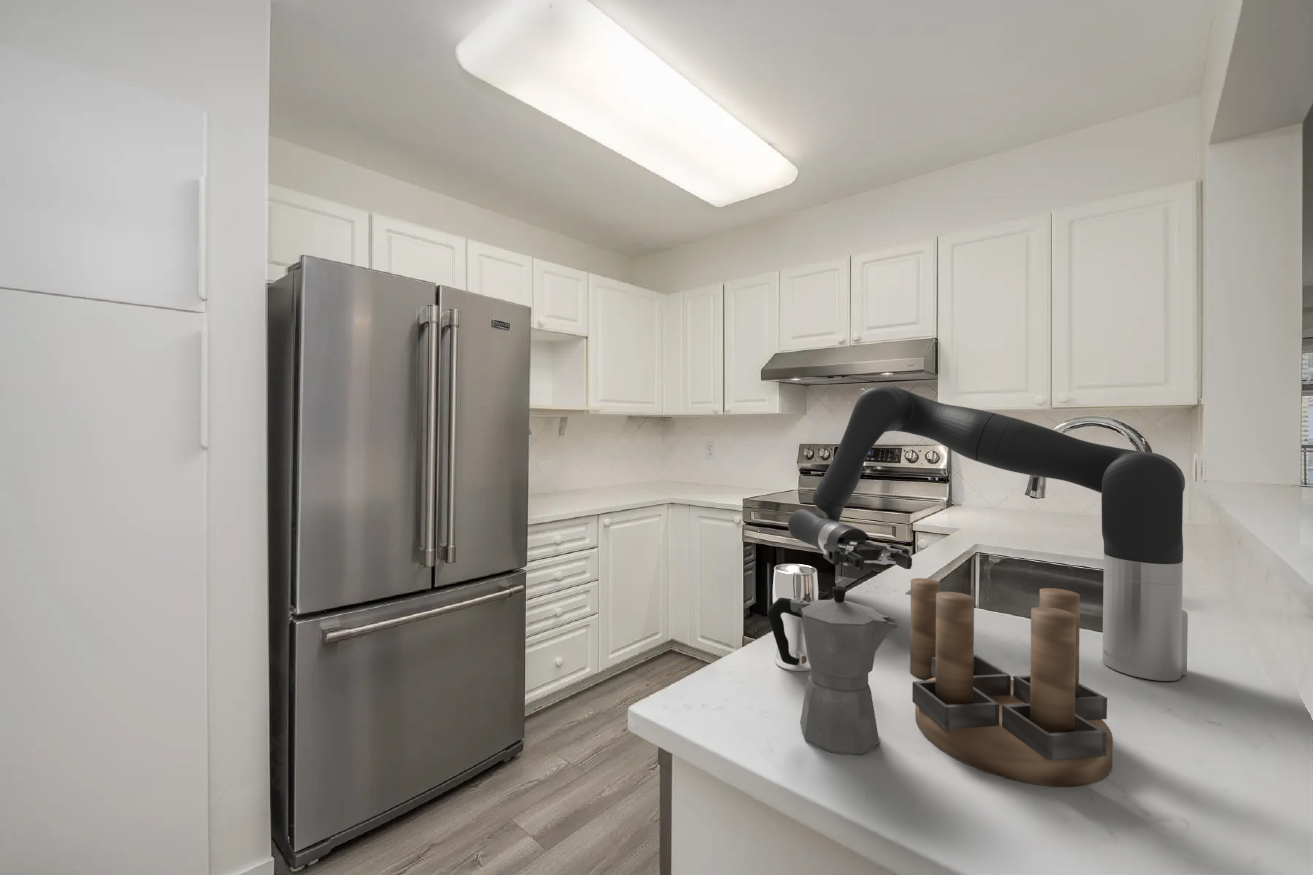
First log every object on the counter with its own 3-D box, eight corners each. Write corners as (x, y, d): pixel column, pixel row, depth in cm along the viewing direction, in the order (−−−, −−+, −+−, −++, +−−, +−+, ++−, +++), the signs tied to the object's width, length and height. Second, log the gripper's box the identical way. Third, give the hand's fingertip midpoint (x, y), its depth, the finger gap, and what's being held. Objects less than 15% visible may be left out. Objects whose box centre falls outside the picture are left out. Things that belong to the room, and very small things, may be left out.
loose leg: (929, 668, 88) (930, 577, 88) (945, 679, 84) (946, 584, 84) (904, 669, 87) (905, 578, 87) (919, 680, 83) (920, 585, 83)
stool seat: (1020, 691, 80) (1022, 571, 80) (1164, 780, 60) (1166, 619, 60) (884, 699, 78) (885, 575, 77) (986, 793, 58) (987, 627, 57)
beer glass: (819, 674, 85) (820, 575, 85) (772, 670, 87) (772, 572, 87) (816, 656, 92) (816, 564, 92) (772, 653, 94) (772, 562, 93)
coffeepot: (901, 730, 70) (902, 584, 70) (892, 770, 62) (893, 605, 61) (778, 701, 77) (778, 569, 77) (755, 734, 69) (756, 586, 69)
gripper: (809, 524, 112) (846, 542, 96) (878, 524, 113) (925, 541, 97) (808, 562, 112) (845, 586, 96) (877, 561, 114) (924, 584, 97)
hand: (885, 563), depth 97 cm, fingers open, 8 cm apart
